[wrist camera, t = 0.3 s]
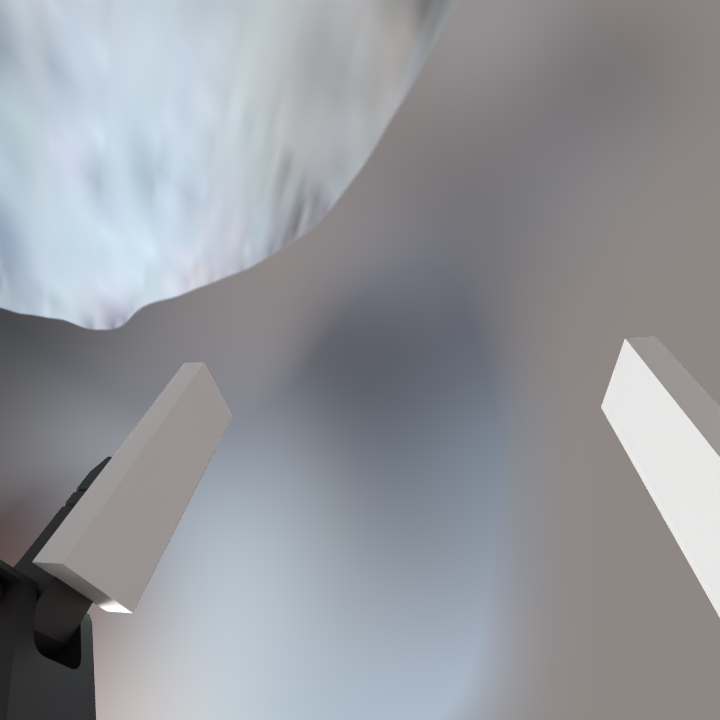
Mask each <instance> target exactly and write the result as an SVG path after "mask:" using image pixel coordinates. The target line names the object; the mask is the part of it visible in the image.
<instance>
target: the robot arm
mask: <svg viewBox="0 0 720 720" xmlns="http://www.w3.org/2000/svg"><path fill="white" fill-rule="evenodd" d="M601 408H602V410H603V411H604V413H605V415H606V417H607V418H608V420H609V422H610V423H611V425H612V427H613V429H614V431H615V433H616V434H617V436H618V438H619V440H620V441H621V443H622V445H623V447H624V449H625V450H626V452H627V454H628V455H629V457H630V459H631V461H632V463H633V465H634V466H635V468H636V470H637V472H638V473H639V475H640V477H641V479H642V480H643V482H644V484H645V486H646V488H647V489H648V491H649V493H650V495H651V496H652V498H653V500H654V502H655V503H656V505H657V507H658V509H659V511H660V512H661V514H662V516H663V518H664V520H665V521H666V523H667V525H668V527H669V528H670V530H671V532H672V534H673V535H674V537H675V539H676V541H677V542H678V544H679V546H680V548H681V550H682V551H683V553H684V555H685V557H686V558H687V560H688V562H689V564H690V566H691V567H692V569H693V571H694V573H695V574H696V576H697V578H698V580H699V582H700V583H701V585H702V587H703V589H704V590H705V592H706V594H707V596H708V597H709V599H710V601H711V603H712V605H713V606H714V608H715V610H716V612H717V613H718V615H719V617H720V407H719V406H718V404H717V403H716V402H715V401H714V400H713V399H712V398H711V397H710V396H709V395H708V394H707V392H706V391H705V390H704V389H702V387H701V386H700V385H699V384H698V383H697V381H696V380H695V379H694V378H693V377H692V376H691V375H690V374H689V373H688V372H687V371H686V369H685V368H684V367H683V366H682V365H681V364H680V363H679V362H678V361H677V360H676V358H675V357H674V356H673V355H672V354H671V353H670V352H669V351H668V350H667V349H666V348H665V346H664V345H663V344H662V343H661V342H660V341H659V340H658V339H657V338H656V337H643V338H642V337H641V338H625V341H624V343H623V346H622V349H621V352H620V355H619V358H618V360H617V364H616V366H615V369H614V372H613V375H612V378H611V381H610V383H609V387H608V389H607V392H606V395H605V398H604V401H603V404H602V406H601ZM231 419H232V415H231V413H230V412H229V409H228V408H227V406H226V404H225V402H224V400H223V398H222V396H221V394H220V392H219V390H218V388H217V386H216V384H215V382H214V380H213V379H212V377H211V375H210V373H209V371H208V369H207V367H206V365H205V363H204V362H198V363H184V364H183V365H182V367H181V368H180V369H179V371H178V372H177V373H176V375H175V376H174V377H173V378H172V380H171V381H170V382H169V384H168V385H167V386H166V388H165V389H164V390H163V391H162V393H161V394H160V395H159V397H158V398H157V399H156V401H155V402H154V403H153V405H152V406H151V407H150V408H149V410H148V411H147V412H146V414H145V415H144V416H143V418H142V419H141V420H140V422H139V423H138V424H137V425H136V427H135V428H134V429H133V431H132V432H131V433H130V435H129V436H128V437H127V439H126V440H125V441H124V442H123V444H122V445H121V447H120V448H119V449H118V451H117V452H116V453H115V454H114V456H113V457H107V458H106V459H105V460H104V461H103V462H101V463H100V464H99V465H98V466H96V467H95V468H94V469H93V470H92V471H90V473H89V474H88V475H87V476H86V478H85V479H84V480H83V481H82V483H81V484H80V485H79V486H78V488H77V492H74V493H73V494H72V495H71V497H70V498H69V499H68V500H67V502H66V505H65V506H64V507H62V508H61V509H60V510H59V512H58V513H57V514H56V515H55V517H54V518H53V519H52V520H51V522H50V523H49V524H48V526H47V527H46V528H45V529H44V531H43V532H42V533H41V534H40V536H39V537H38V538H37V540H36V541H35V542H34V543H33V545H32V546H31V547H30V548H29V550H28V551H27V552H26V553H25V555H24V556H23V557H22V558H21V560H20V561H19V562H18V563H17V564H16V565H15V566H14V567H11V566H10V565H8V564H7V563H5V562H3V561H2V560H0V720H96V711H95V709H96V708H95V685H94V661H93V638H92V621H91V618H90V615H89V614H87V611H88V609H89V608H90V606H91V604H92V603H95V604H96V605H98V606H99V607H101V608H102V609H104V610H106V611H111V612H123V613H133V612H134V610H135V608H136V606H137V604H138V602H139V600H140V598H141V596H142V594H143V592H144V590H145V588H146V587H147V584H148V582H149V581H150V579H151V577H152V575H153V573H154V571H155V569H156V567H157V565H158V563H159V561H160V559H161V557H162V555H163V553H164V551H165V549H166V547H167V545H168V543H169V541H170V539H171V537H172V535H173V533H174V531H175V529H176V527H177V525H178V524H179V522H180V520H181V517H182V516H183V514H184V512H185V510H186V507H187V506H188V504H189V502H190V500H191V498H192V496H193V494H194V492H195V490H196V488H197V486H198V484H199V482H200V480H201V478H202V476H203V474H204V472H205V470H206V468H207V466H208V464H209V463H210V460H211V459H212V457H213V455H214V453H215V451H216V449H217V447H218V445H219V443H220V441H221V439H222V437H223V435H224V433H225V431H226V429H227V427H228V425H229V423H230V421H231Z"/></svg>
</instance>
